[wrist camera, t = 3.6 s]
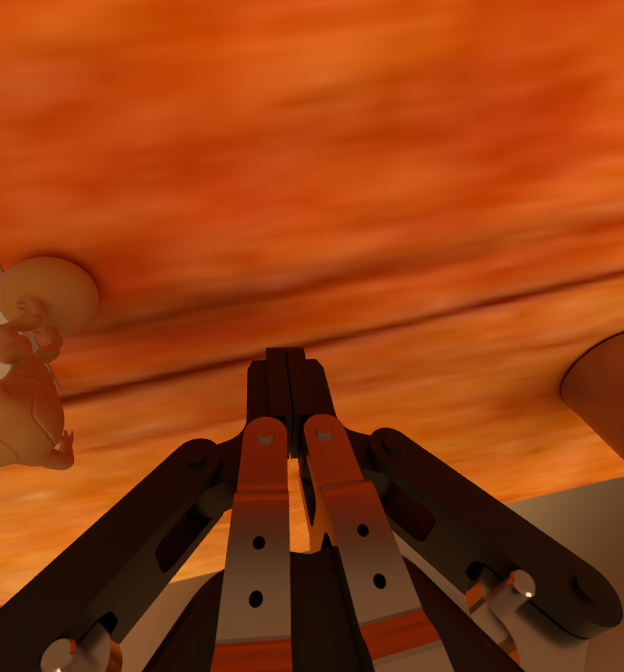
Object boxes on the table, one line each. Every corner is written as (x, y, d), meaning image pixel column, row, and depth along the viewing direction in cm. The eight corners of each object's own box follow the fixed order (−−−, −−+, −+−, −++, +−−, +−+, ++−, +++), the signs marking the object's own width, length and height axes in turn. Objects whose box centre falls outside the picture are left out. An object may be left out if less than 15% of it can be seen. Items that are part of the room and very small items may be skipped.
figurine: (-16, 200, 15) (-483, 379, 6) (122, 196, 16) (-79, 347, 6) (63, 344, 20) (-111, 572, 10) (166, 335, 21) (92, 541, 11)
